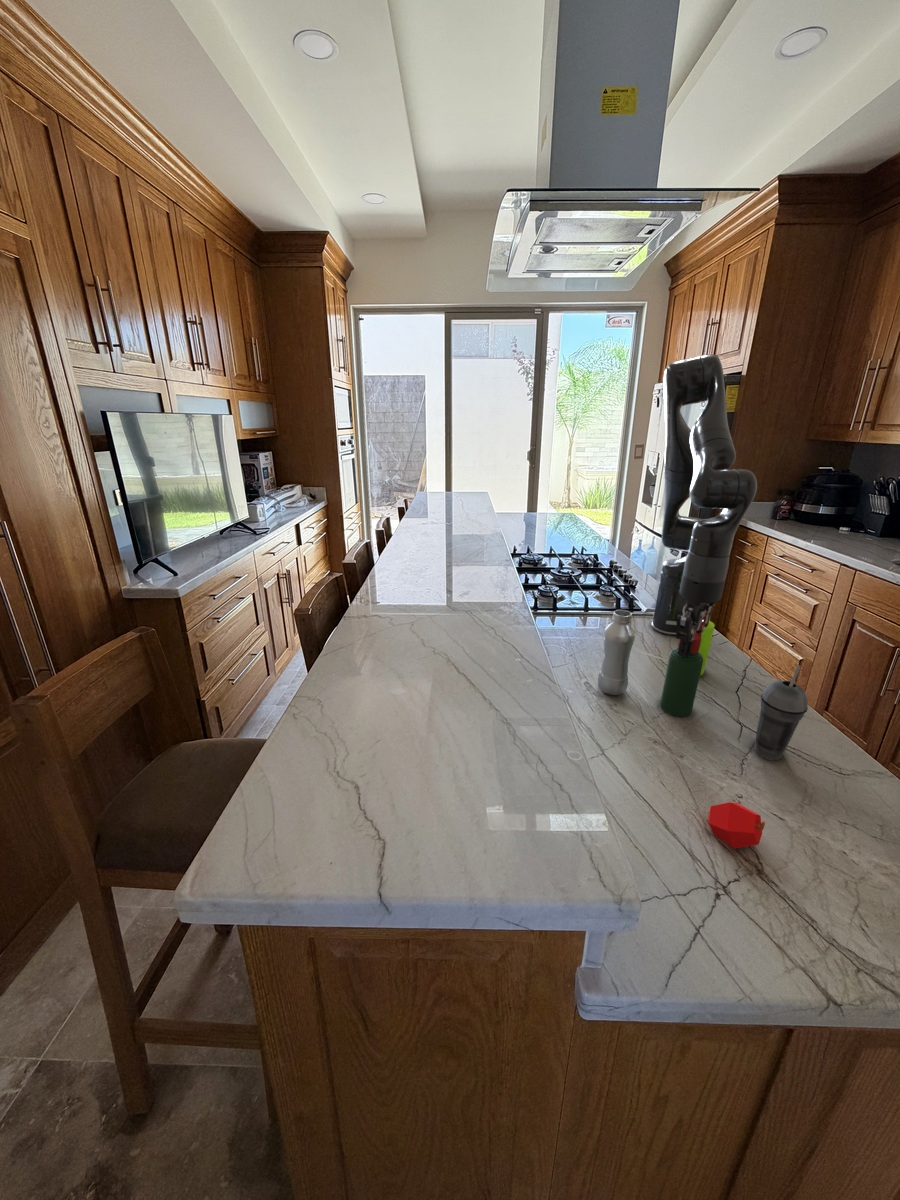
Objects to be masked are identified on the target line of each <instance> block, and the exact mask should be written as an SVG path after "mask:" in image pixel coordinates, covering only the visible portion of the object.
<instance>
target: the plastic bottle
mask: <svg viewBox="0 0 900 1200" xmlns="http://www.w3.org/2000/svg"><path fill="white" fill-rule="evenodd" d="M632 616H633V614H632V612H631V611H629V610H626V609H616V610H614V611H613V614H612V618H611V621H612V622H611V623H609V624H608V625H607V626H606V627H605V629H604V631H603V659H602V664H601V668H600V671H599V674H598V677H597V685H598V687H599V689H600V690H601V691H602V692H603V693H605V694H607V695H610V696H611V695H612V696H619V695H622V694H624V693H625V692H626V691H627V690H628V686H629V674H628V673H629V661H630V657H631V651H632V648H633V646H634V642H635V639H636V635H635V631H634V629H633V627H632V625H631V623H632Z"/></svg>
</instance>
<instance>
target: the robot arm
mask: <svg viewBox="0 0 900 1200" xmlns="http://www.w3.org/2000/svg"><path fill="white" fill-rule="evenodd" d="M724 376H725V375H724V368H723V364H722V361H721V360H720V357H719V356H718V355H716V354H713V353H711V354H709V353H708V354H703V355H699V356H694V357H690V358H685V359H681V360H676V361H673V362H670V363H669V364H668V365H666V368H665V370H664V374H663V403H664V423H665V445H664V462H663V463H664V466H663V467H664V469H663V470H664V473H663V474H664V505H663V517H662V527H661V543H662V546H664V547H665V548H667V549H671V550H675V551H680V552H681V551H682V552H687V554H686V555H685V556H683V557H678V558H671V559H667V560H665V561H664V562H663V563H662V566H661V572H660V578H659V585H658V590H657V595H656V600H655V601H656V602H655V606H654V612H653V617H652V622H651V627H652V629H653V630H654V631H656V632H659V633H660V634H664V635H670V636H675V638H676V639H677V640H679V639H680V644H679V649H678V654H679V655H682V656H684V657H688V656H690V653H691V648H692V644H693V640H694V636H695V633H696V632H697V633H699V634H700V635H701V634H702V633H703V632H704V627H705V628H706V627H707V626H708V622H709V619H710V620H711V617H710V616H712V614H713V610H714V607H715V606H714V604H715V605H716V603H719V602H720V601H721V599H722V597H723V593H724V588H725V583H726V580H727V575H728V571H729V565H730V555H731V551H732V547H733V543H734V540H735V539H734V538H735V535H736V533H737V530H738V529H739V526H740V525H741V523H742V521H743V519H744V517H745V515H746V514H747V512H748V510H749V509H750V507H751V505H752V503H753V502H754V500H755V497H756V495H757V491H758V481H757V477H756V475H755V473H754V472H752V471H751V470H750V469H745V468H732V466H733V465H734V464H735V462H736V458H737V453H736V447H735V444H734V441H733V437H732V435H731V431H730V426H729V420H728V409H727V408H728V406H727V394H726V387H725V386H726V385H725V377H724ZM704 402H707V403H706V405H705V407H704V409H703V411H702V412H701V413H700V415H699V417H697V419H696V421H695V422H694V423H693V426H692V428H690V427H689V426H688V424H687V422H686V420H685V419H684V417H683V415H682V412H681V409H682V407H685V406H689V405H695V404H700V403H704ZM689 499H690V501H691V502H692V504H693V505H694V506H695V507H698V508H700V509H709V510H710V509H714V510H715V509H718V510H719V509H721V512H720V513H718V515H716V516H714V517H710V518H700V517H692V516H685V515H680V510H681V508H682V507H683V505H684V504H685V503H686V501H688V500H689ZM685 633H686V634H685Z"/></svg>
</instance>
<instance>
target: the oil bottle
mask: <svg viewBox="0 0 900 1200" xmlns="http://www.w3.org/2000/svg"><path fill="white" fill-rule="evenodd" d="M678 649H679V648H678V647H676V648H673V649H672V650H671V651H670V652H669V655H668V662H667V667H666V672H665V677H664V682H663V686H662V692H661V698H660V703H659V705H660V708H661V709H662V710H663V711H664V712H666V713H668V714H669V715H672V716H677V717H687V716H690V715H691V714H692V711H693V708H694V703H695V699H696V696H697V690H698V686H699V682H700V677H701V676H700V673H701V669H702V664H703V657H702V655H701V654H700V653H699V652H697V653H690V656H688V657H684V656H682V655H679V654H678Z"/></svg>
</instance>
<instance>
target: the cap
mask: <svg viewBox="0 0 900 1200" xmlns="http://www.w3.org/2000/svg"><path fill="white" fill-rule="evenodd" d="M685 634H686V633H685ZM701 637H702V636H701V635H700V634H699V633H697V632H696V633H695V636H694V640H693V644H692V648H691V653H697V652H698V651H699V648H700V643H701ZM679 644H680V639H678V643H677V648H679Z"/></svg>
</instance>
